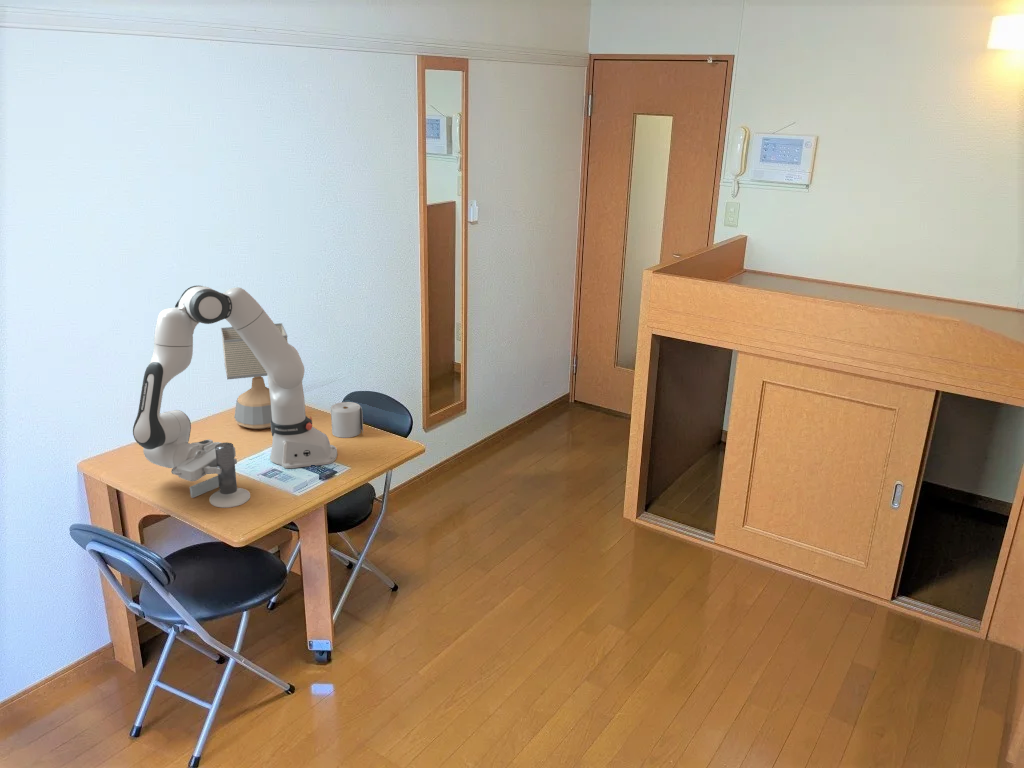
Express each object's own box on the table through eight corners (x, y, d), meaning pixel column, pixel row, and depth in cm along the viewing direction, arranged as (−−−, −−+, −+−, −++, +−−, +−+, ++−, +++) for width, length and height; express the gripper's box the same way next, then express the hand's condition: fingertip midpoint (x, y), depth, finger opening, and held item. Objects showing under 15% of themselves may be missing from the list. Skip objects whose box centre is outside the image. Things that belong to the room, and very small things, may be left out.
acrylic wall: (229, 480, 269) (228, 471, 268) (231, 481, 269) (230, 472, 268) (190, 497, 259) (189, 486, 257) (192, 497, 258) (191, 487, 257)
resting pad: (253, 488, 265) (253, 487, 265) (246, 507, 254) (246, 505, 253) (214, 489, 263) (214, 488, 263) (205, 508, 252) (205, 506, 252)
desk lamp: (233, 435, 302) (223, 339, 289) (229, 416, 319) (220, 324, 306) (294, 428, 310) (287, 334, 297) (287, 410, 326) (281, 319, 314)
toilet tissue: (334, 426, 313) (333, 401, 309) (366, 426, 313) (365, 402, 310) (329, 438, 303) (328, 412, 299) (362, 438, 303) (361, 412, 300)
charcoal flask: (232, 484, 261) (228, 441, 256) (239, 491, 257) (236, 446, 252) (216, 489, 258) (212, 445, 252) (223, 495, 254) (219, 451, 249)
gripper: (166, 462, 248) (204, 471, 244) (212, 437, 266) (248, 444, 262) (168, 481, 251) (206, 490, 246) (213, 455, 269) (249, 462, 264)
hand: (228, 466), depth 254 cm, fingers closed on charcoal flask, 5 cm apart
